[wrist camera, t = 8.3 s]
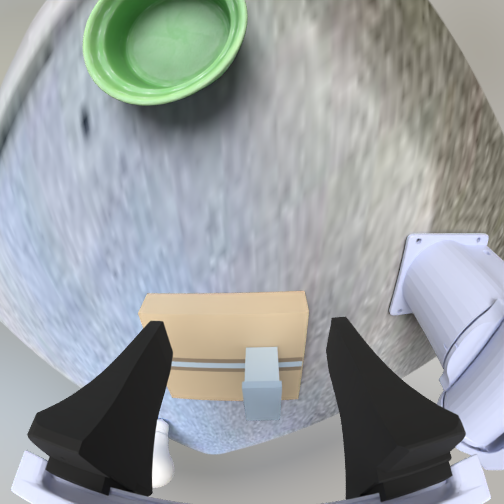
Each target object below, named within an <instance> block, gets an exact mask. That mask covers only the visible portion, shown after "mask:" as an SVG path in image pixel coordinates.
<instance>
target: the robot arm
mask: <svg viewBox="0 0 504 504" xmlns="http://www.w3.org/2000/svg"><path fill="white" fill-rule="evenodd" d="M477 238H478V239H477ZM488 238H489V237H488V235H487V234H485V233H429V234H410V235H409V236H408V237H407V240H406V245H405V250H404V254H403V259H402V263H401V267H400V271H399V275H398V279H397V283H396V287H395V291H394V294H393V298H392V302H391V305H390V309H389V312H390V314H391V315H401V314H409V313H413V314H414V315H415V317H416V319H417V321H418V322H419V324H420V326H421V328H422V329H423V331H424V333H425V335H426V337H427V338H428V340H429V342H430V344H431V346H432V348H433V350H434V352H435V353H436V355H437V357H438V359H439V361H440V363H441V365H442V367H443V369H444V372H443V374H442V376H441V377H440V378H439V381H440V383H441V385H442V387H443V390H444V391H443V392H442V394H441V395H440V397H439V400H438V403H437V404H435V403H434V402H432V401H431V400H429V399H427V398H426V397H424V396H423V395H421V394H420V393H419V392H417V391H416V390H414V389H413V388H412V387H410V386H409V385H408V384H406V383H405V382H404V381H403V380H402V379H401V378H399V377H398V376H397V375H396V374H395V373H394V372H393V371H392V370H391V369H390V368H389V367H388V366H387V365H386V364H385V363H384V362H383V361H382V360H381V359H380V358H379V357H378V356H377V355H376V354H375V352H374V351H373V350H372V349H371V348H370V347H369V345H368V344H367V343H366V342H365V341H364V339H363V338H362V337H361V336H360V334H359V333H358V332H357V330H356V329H355V328H354V327H353V325H352V324H351V323H350V321H349V320H348V319H347V318H346V317H337V318H332V320H331V326H330V332H329V337H328V343H327V348H326V353H327V361H328V368H329V373H330V377H331V381H332V385H333V389H334V392H335V396H336V400H337V404H338V408H339V412H340V417H341V424H342V432H343V441H344V453H345V469H346V500H342V501H336V502H330V503H323V504H483V503H485V502H486V501H488V500H489V499H490V498H491V496H490V493H489V489H488V486H487V482H486V479H485V476H484V472H483V469H482V467H483V468H484V469H486V470H504V261H503V260H502V259H501V258H500V257H499V256H498V255H496V254H495V253H494V252H493V251H492V250H491V249H490V248H489V247H488V246H487V243H488ZM417 239H419V241H418V242H416V240H417ZM399 309H400V310H399ZM172 358H173V350H172V347H171V344H170V341H169V338H168V335H167V332H166V329H165V325H164V322H163V321H150V322H149V323H148V324H147V325H146V326H145V327H144V328H143V329H142V331H141V332H140V333H139V334H138V335H137V336H136V337H135V339H134V340H133V341H132V342H131V343H130V344H129V345H128V346H127V348H126V349H125V350H124V351H123V352H122V353H121V354H120V355H119V356H118V357H117V358H116V359H115V360H114V361H113V362H112V363H111V364H110V365H109V366H108V367H107V368H106V369H105V370H104V371H103V372H102V373H101V374H99V375H98V376H97V377H96V378H95V379H93V380H92V381H91V382H90V383H88V384H87V385H85V386H84V387H83V388H81V389H80V390H78V391H77V392H76V393H74V394H73V395H71V396H69V397H68V398H66V399H64V400H63V401H61V402H59V403H57V404H55V405H53V406H51V407H49V408H47V409H45V410H42V411H40V412H38V413H37V414H36V416H35V418H34V421H33V423H32V425H31V427H30V429H29V432H28V438H29V439H30V440H31V441H32V442H33V443H34V444H35V445H36V446H37V447H38V448H40V449H41V450H42V451H43V452H45V453H46V454H47V455H49V456H50V458H49V460H48V461H47V460H45V459H44V458H42V457H40V456H38V455H35V454H33V453H31V452H29V451H27V450H25V452H24V454H23V457H22V459H21V462H20V465H19V468H18V470H17V473H16V477H15V479H14V482H13V485H12V488H11V490H12V492H14V493H15V494H17V495H18V496H20V497H22V498H23V499H25V500H27V501H28V502H30V503H31V504H188V503H180V502H174V501H168V500H163V499H157V498H152V497H148V496H150V495H151V494H152V467H153V451H154V441H155V433H156V426H157V419H158V415H159V411H160V407H161V404H162V400H163V396H164V393H165V389H166V386H167V382H168V379H169V375H170V371H171V365H172ZM453 448H457V449H458V450H460V451H462V452H465V453H467V454H469V455H471V456H470V457H468V458H466V459H464V460H461V461H460V462H457V463H455V464H453V465H451V466H450V464H449V461H450V460H451V454H450V451H451V450H452V449H453ZM481 465H482V466H481Z"/></svg>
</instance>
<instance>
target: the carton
mask: <svg viewBox="0 0 504 504" xmlns="http://www.w3.org/2000/svg"><path fill="white" fill-rule="evenodd" d="M138 315H139V317H140V320H141V323H142V326H143V328H144V327H145V326H146V325H147V324H148V323H149V322H150V321H163V322H164V325H165V329H166V332H167V335H168V338H169V341H170V344H171V347H172V350H173V358H172V365H171V371H170V375H169V379H168V382H167V387H168V389H169V391H170V394H171V396H172V398H183V399H198V400H220V401H244V400H243V392H242V382H244V381H245V357H246V347H277V350H278V366H279V381H282V396H281V400H291V399H298V397H299V390H300V383H301V375H302V368H303V360H304V352H305V344H306V335H307V326H308V316H309V310H308V305H307V301H306V296H305V291H288V292H258V293H202V294H157V293H147V295H146V298H145V300H144V302H143V304H142V306H141V308H140V310H139V312H138Z"/></svg>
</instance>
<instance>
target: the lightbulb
mask: <svg viewBox="0 0 504 504" xmlns="http://www.w3.org/2000/svg"><path fill="white" fill-rule="evenodd" d="M168 431H169V425H168V424H167V423H166V422H165V421H164V420H163V419H158V420H157V426H156V433H155V441H154V451H153V467H152V487H155V488H156V487H161V486H164V485H166V484H167V483H169V482H170V481H171V479H172V478H173V475H174V464H173V461H172V458H171V456H170V454H169V449H168V441H169V438H168Z"/></svg>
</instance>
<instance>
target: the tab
mask: <svg viewBox="0 0 504 504" xmlns="http://www.w3.org/2000/svg"><path fill="white" fill-rule="evenodd" d="M242 392H243V400H244V407H245V415H246V421H263V420H280V411H281V396H282V381H279V366H278V350H277V347H246V357H245V381H244V382H242Z"/></svg>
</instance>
